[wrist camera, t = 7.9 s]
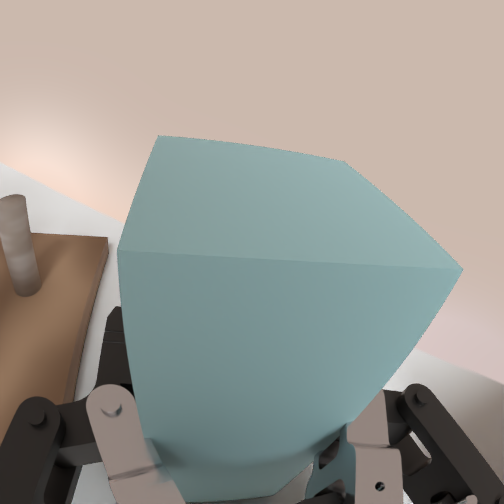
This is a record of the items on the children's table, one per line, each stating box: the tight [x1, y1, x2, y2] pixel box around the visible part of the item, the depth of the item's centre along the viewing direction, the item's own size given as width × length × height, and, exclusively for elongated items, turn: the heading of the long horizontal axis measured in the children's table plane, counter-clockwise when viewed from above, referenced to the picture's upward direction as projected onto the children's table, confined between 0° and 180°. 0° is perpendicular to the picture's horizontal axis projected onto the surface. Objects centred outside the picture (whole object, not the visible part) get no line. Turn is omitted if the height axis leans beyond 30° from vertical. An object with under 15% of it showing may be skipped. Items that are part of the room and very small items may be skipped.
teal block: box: [117, 136, 463, 502], centre depth 9 cm, size 5×5×13 cm
